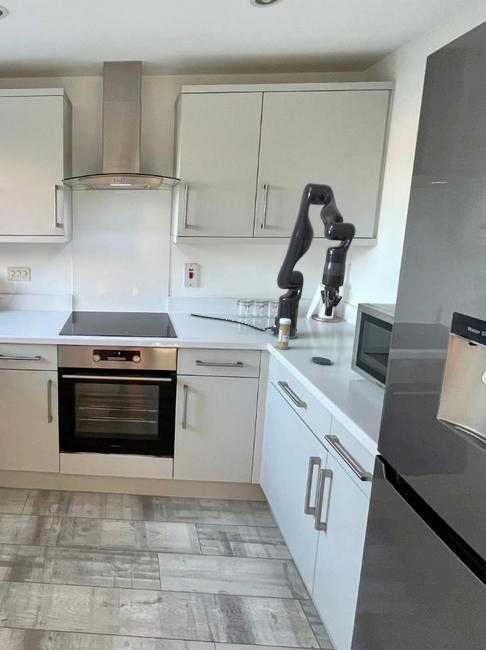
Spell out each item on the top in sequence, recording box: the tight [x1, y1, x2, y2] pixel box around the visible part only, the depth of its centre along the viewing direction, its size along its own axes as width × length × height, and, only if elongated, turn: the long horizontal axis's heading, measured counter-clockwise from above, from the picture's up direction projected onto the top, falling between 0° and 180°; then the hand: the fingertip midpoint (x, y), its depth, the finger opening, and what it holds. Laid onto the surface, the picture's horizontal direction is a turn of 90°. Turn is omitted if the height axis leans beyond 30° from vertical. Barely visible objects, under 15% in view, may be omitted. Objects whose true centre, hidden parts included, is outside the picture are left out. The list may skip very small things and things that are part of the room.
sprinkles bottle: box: [277, 318, 291, 350], centre depth 188 cm, size 5×5×14 cm
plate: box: [311, 356, 332, 366], centre depth 171 cm, size 7×7×1 cm
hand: (328, 315), depth 168 cm, fingers closed
